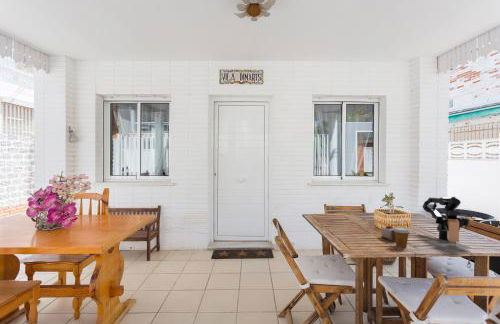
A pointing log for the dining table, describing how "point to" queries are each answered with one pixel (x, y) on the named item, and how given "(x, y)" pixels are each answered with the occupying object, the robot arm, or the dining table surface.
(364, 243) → the dining table surface
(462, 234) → the dining table surface
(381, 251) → the dining table surface
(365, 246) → the dining table surface
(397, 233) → the disposable coffee cup
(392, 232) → the food item
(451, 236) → the tan tall block
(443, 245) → the mat
